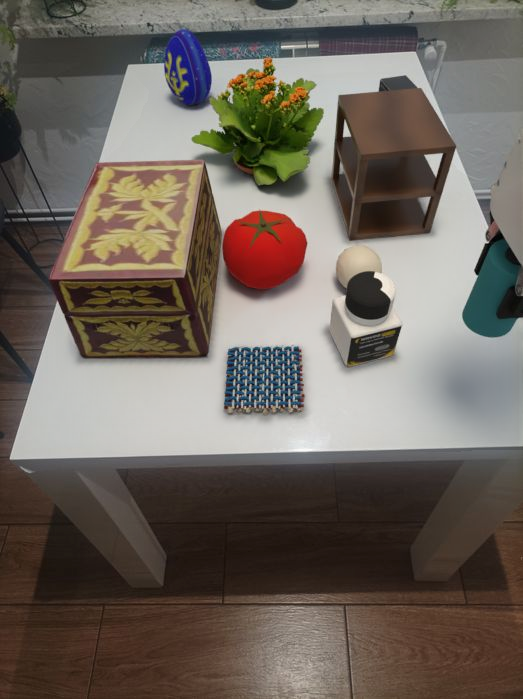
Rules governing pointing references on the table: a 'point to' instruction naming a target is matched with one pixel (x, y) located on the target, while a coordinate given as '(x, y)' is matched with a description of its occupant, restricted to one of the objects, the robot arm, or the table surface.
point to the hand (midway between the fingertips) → (500, 292)
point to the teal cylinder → (492, 292)
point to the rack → (388, 162)
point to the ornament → (187, 68)
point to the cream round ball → (356, 262)
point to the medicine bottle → (365, 319)
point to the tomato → (264, 249)
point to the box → (396, 83)
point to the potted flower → (264, 124)
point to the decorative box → (141, 261)
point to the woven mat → (264, 379)
